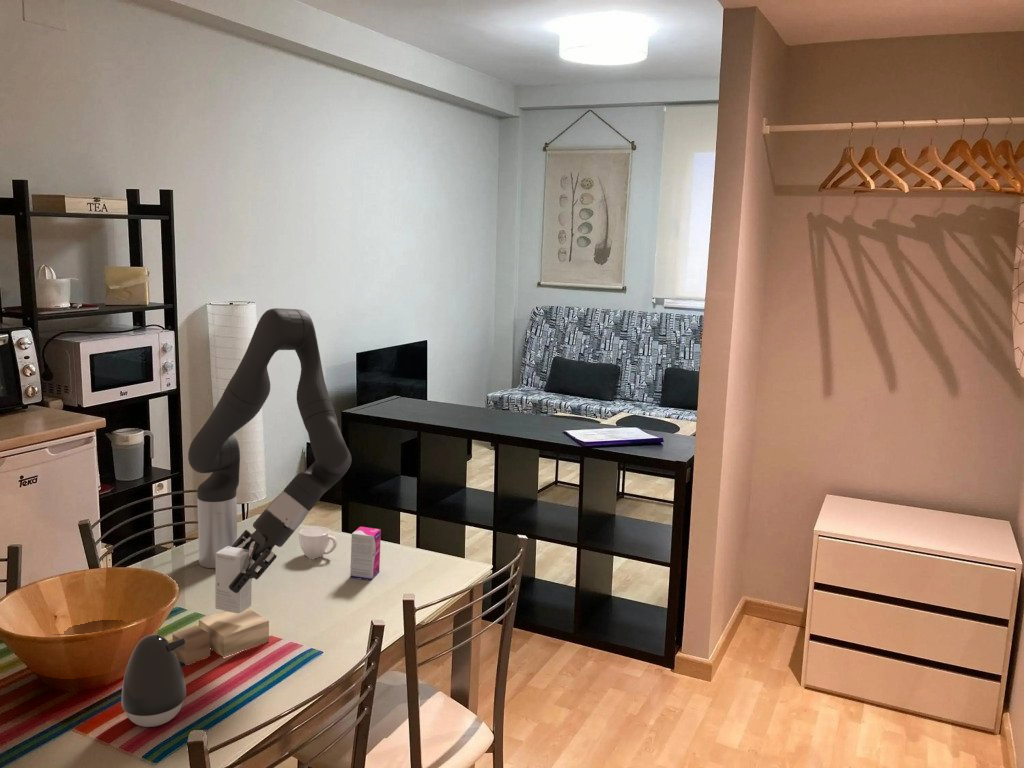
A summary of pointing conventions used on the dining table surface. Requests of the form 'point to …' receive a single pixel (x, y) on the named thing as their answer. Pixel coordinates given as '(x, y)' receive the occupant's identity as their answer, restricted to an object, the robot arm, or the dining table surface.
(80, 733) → the dining table surface
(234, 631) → the beech block
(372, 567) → the supplement box
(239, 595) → the skincare box
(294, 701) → the dining table surface
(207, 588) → the dining table surface
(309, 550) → the cup
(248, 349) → the robot arm
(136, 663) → the pump dispenser
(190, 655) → the tan wooden cube
